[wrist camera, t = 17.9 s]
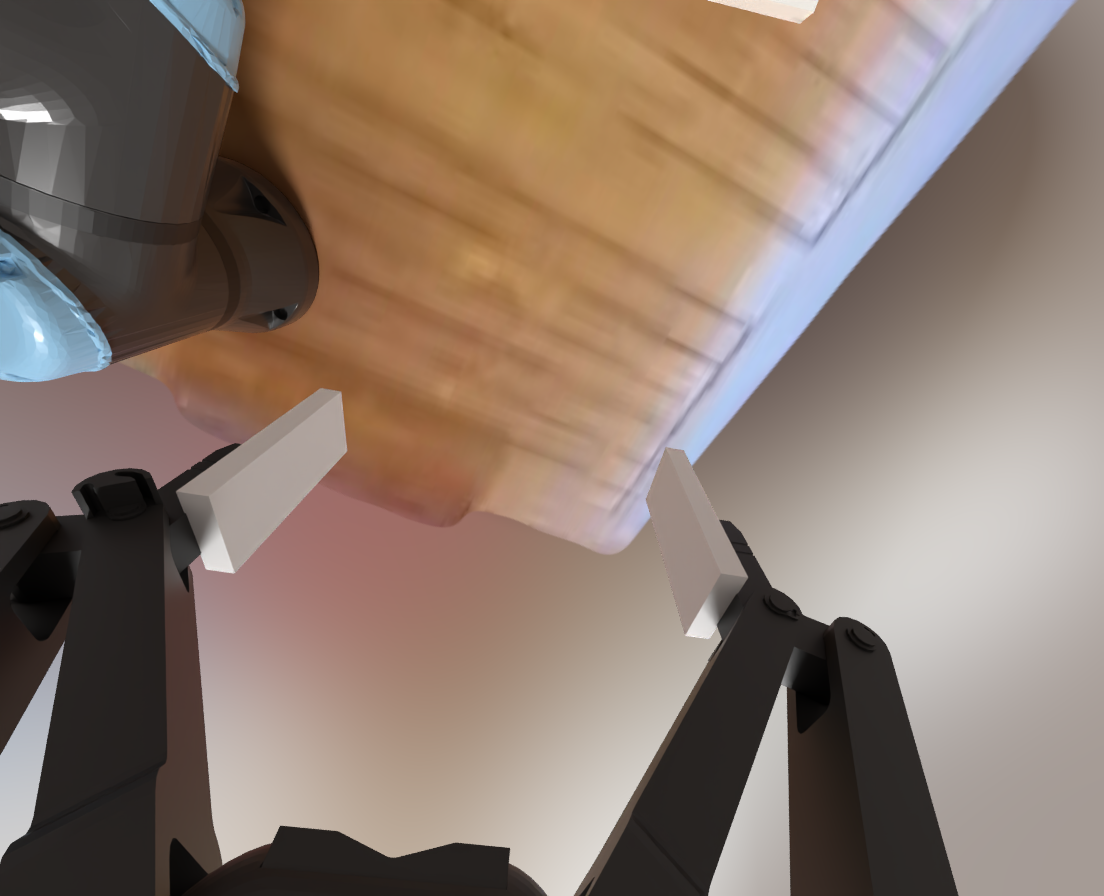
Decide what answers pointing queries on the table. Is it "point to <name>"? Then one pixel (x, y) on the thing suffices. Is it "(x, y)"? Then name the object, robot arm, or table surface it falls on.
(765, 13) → the white tray
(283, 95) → the table surface
